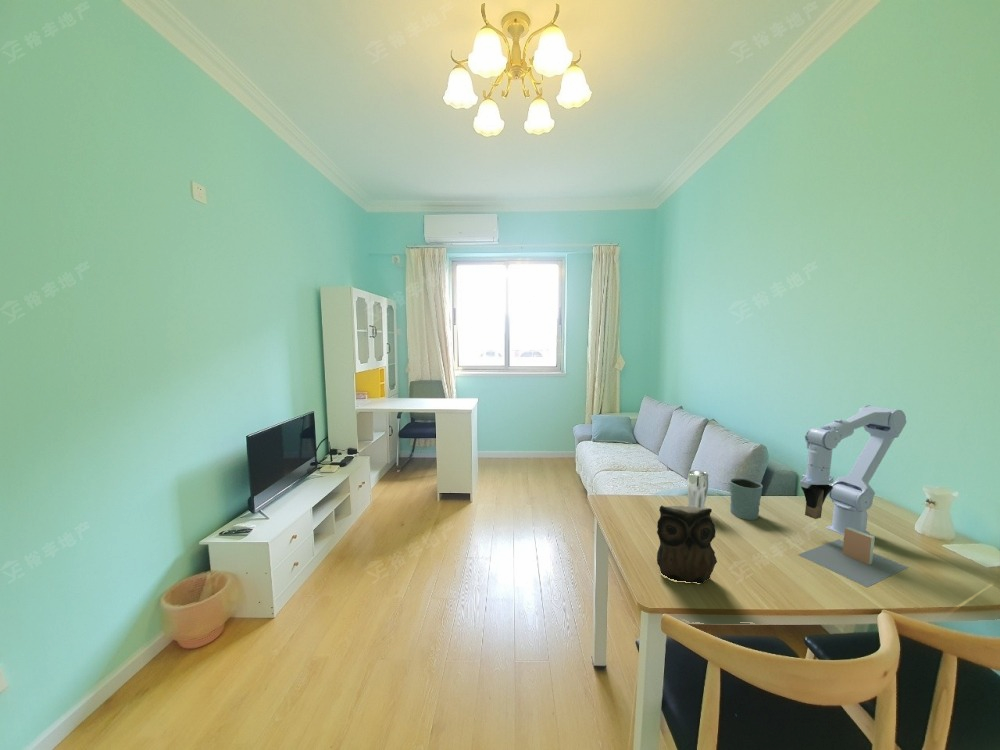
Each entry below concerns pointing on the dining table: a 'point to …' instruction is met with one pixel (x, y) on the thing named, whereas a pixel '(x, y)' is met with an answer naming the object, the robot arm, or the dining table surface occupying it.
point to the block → (817, 510)
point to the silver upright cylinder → (697, 488)
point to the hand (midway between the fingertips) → (814, 506)
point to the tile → (858, 545)
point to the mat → (852, 564)
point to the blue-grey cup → (745, 498)
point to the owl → (686, 543)
